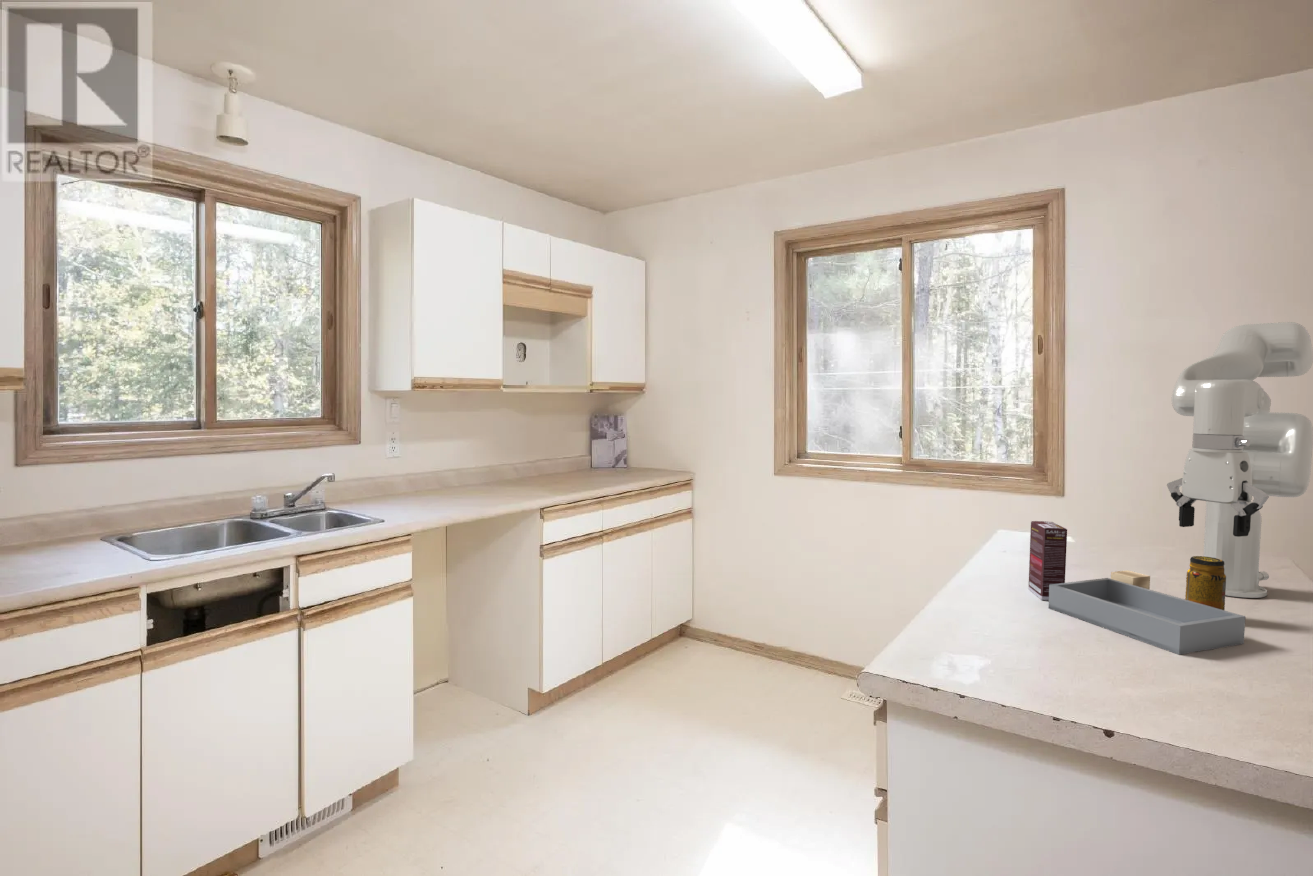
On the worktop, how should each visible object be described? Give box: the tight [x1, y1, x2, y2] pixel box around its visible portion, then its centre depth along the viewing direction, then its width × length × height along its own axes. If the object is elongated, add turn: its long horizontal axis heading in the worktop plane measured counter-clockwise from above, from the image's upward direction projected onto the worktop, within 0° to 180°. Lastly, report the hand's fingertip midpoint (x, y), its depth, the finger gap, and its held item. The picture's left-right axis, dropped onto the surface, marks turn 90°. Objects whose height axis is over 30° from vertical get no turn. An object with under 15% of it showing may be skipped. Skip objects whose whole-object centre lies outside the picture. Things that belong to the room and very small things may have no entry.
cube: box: [1110, 569, 1151, 590], centre depth 146 cm, size 5×5×5 cm
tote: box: [1048, 577, 1246, 656], centre depth 128 cm, size 16×26×5 cm, turn 17°
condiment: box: [1184, 555, 1226, 611], centre depth 131 cm, size 7×8×12 cm
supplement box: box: [1028, 520, 1068, 602], centre depth 147 cm, size 9×5×16 cm, turn 168°
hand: (1212, 531), depth 130 cm, fingers open, 9 cm apart
